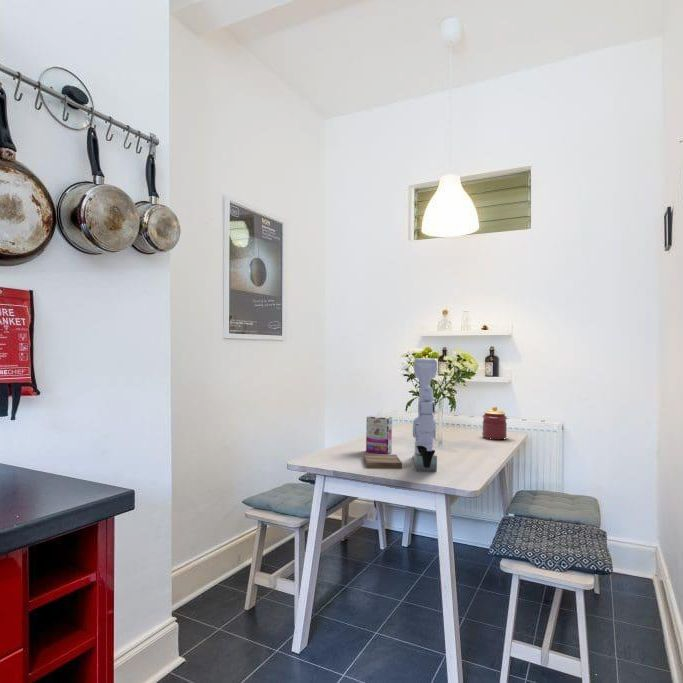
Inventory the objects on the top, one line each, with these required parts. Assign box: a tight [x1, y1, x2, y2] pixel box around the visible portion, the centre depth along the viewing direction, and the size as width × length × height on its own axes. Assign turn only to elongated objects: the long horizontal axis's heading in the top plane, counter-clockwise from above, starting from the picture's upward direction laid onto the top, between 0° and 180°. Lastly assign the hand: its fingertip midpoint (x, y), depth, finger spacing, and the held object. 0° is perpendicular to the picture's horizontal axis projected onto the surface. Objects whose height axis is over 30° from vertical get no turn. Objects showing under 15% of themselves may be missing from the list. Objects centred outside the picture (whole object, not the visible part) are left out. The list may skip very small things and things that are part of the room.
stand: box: [363, 453, 403, 469], centre depth 203 cm, size 16×14×2 cm
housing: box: [413, 452, 438, 472], centre depth 194 cm, size 5×8×7 cm, turn 92°
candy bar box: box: [365, 415, 393, 454], centre depth 225 cm, size 11×5×16 cm, turn 62°
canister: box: [481, 406, 508, 440], centre depth 270 cm, size 13×13×18 cm
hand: (425, 465), depth 194 cm, fingers closed on housing, 5 cm apart
